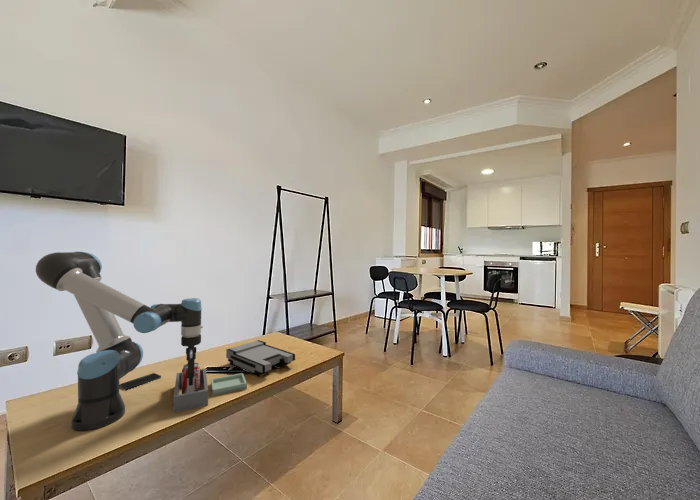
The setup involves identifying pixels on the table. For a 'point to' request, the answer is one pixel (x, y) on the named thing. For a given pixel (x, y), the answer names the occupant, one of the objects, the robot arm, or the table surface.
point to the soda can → (184, 379)
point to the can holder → (190, 394)
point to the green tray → (228, 384)
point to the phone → (139, 381)
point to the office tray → (258, 357)
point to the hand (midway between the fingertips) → (190, 388)
